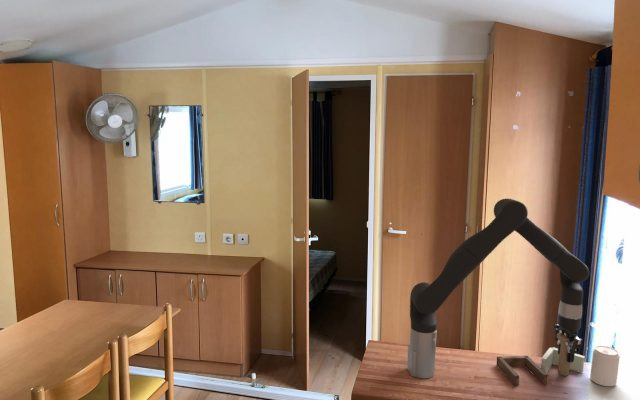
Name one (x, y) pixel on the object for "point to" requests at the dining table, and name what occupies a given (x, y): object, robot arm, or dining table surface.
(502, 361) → the u-shaped bracket
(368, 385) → the dining table surface
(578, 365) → the cream l-shaped bracket
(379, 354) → the dining table surface
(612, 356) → the beverage can
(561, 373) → the handle
